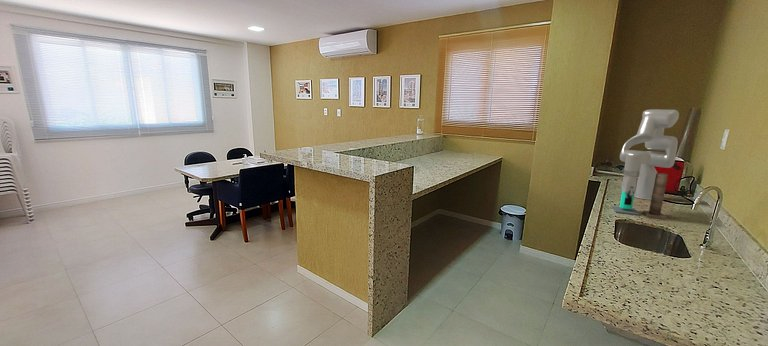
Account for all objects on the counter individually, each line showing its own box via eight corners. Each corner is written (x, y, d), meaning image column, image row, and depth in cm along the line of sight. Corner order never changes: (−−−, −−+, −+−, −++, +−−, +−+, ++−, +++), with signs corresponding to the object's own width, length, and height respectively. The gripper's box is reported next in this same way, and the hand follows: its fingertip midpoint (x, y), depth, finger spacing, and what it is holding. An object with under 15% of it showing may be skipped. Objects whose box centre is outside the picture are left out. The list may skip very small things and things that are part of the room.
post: (643, 212, 186) (650, 172, 180) (660, 214, 182) (668, 173, 177) (647, 217, 179) (655, 175, 173) (665, 219, 175) (674, 176, 170)
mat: (612, 207, 196) (612, 205, 195) (633, 209, 191) (634, 208, 191) (615, 212, 186) (616, 211, 186) (638, 215, 181) (639, 214, 181)
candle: (634, 209, 185) (638, 189, 182) (624, 209, 185) (627, 189, 183) (627, 205, 191) (630, 186, 188) (617, 205, 191) (620, 186, 188)
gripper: (620, 170, 192) (615, 198, 197) (627, 176, 177) (622, 206, 182) (635, 171, 189) (630, 199, 193) (643, 177, 174) (638, 208, 178)
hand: (626, 202), depth 187 cm, fingers closed on candle, 4 cm apart
